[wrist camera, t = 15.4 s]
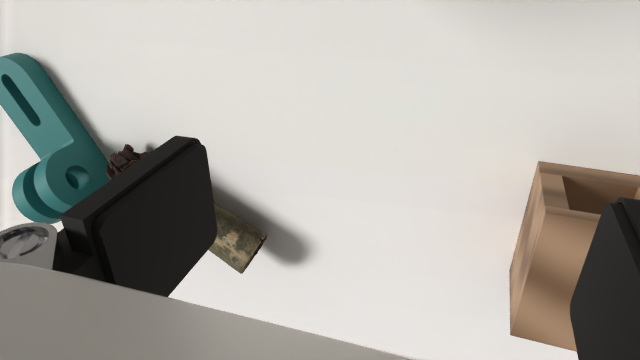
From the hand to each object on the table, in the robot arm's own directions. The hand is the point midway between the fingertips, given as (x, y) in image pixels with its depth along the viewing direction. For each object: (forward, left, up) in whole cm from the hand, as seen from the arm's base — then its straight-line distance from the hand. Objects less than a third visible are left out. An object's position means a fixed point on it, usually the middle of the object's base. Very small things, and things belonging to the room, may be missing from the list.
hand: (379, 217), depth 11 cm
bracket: (+14, -43, -28) cm, 53 cm away
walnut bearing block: (+15, +11, -27) cm, 33 cm away
